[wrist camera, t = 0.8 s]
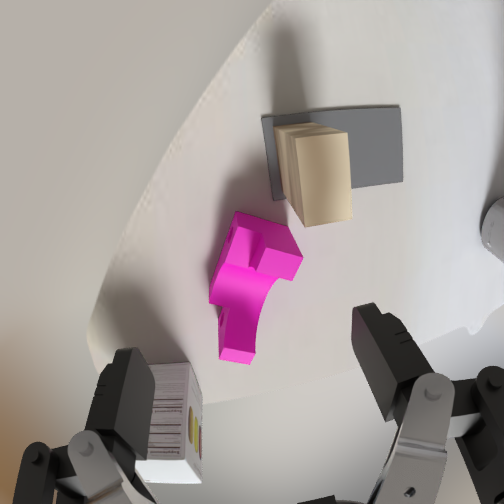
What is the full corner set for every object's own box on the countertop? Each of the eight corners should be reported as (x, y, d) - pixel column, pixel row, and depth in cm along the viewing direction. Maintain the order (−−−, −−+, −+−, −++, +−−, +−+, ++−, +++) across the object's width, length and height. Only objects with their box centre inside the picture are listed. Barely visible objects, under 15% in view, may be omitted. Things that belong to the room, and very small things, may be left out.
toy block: (235, 210, 34) (239, 239, 27) (287, 226, 36) (303, 257, 29) (200, 313, 40) (197, 354, 34) (244, 324, 42) (249, 364, 35)
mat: (399, 107, 30) (400, 107, 29) (401, 181, 34) (402, 181, 34) (261, 118, 29) (261, 118, 29) (273, 199, 34) (273, 200, 33)
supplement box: (203, 396, 48) (204, 484, 34) (153, 399, 48) (143, 483, 33) (190, 360, 44) (185, 460, 29) (133, 364, 44) (114, 458, 29)
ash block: (310, 121, 30) (347, 132, 21) (317, 185, 33) (352, 219, 24) (272, 126, 30) (295, 138, 21) (281, 190, 33) (304, 227, 24)
